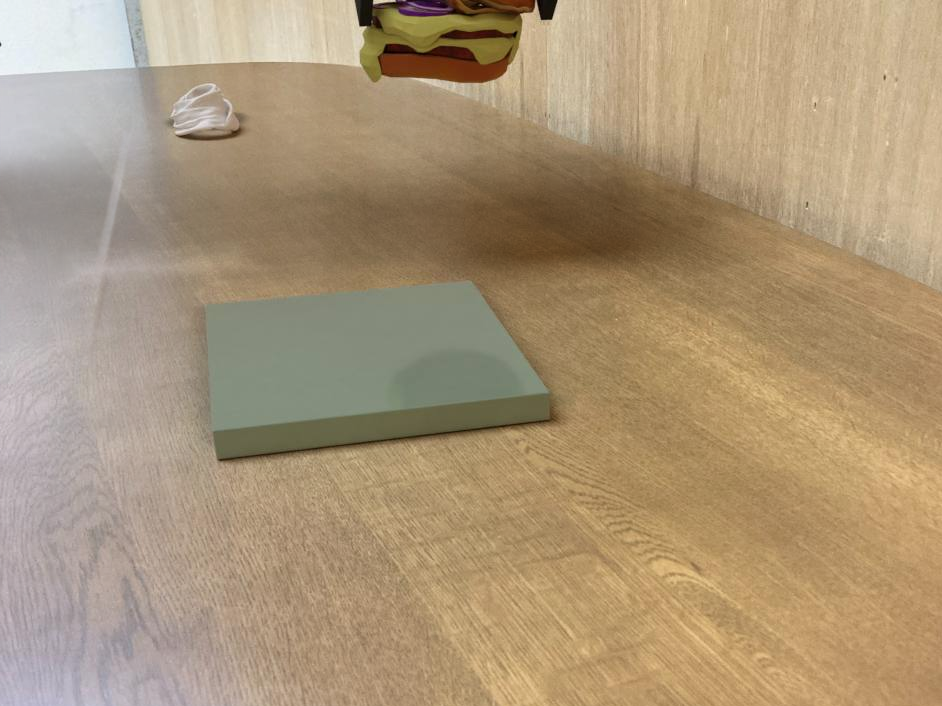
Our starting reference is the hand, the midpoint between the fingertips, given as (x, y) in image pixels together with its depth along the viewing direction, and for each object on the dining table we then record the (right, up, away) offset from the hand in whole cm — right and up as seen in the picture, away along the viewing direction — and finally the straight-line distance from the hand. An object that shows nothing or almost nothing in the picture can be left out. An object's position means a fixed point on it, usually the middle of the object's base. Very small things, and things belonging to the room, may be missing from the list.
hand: (460, 8), depth 70 cm
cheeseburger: (-1, -3, +4) cm, 5 cm away
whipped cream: (-29, +9, +47) cm, 56 cm away
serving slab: (-5, -24, -8) cm, 25 cm away
